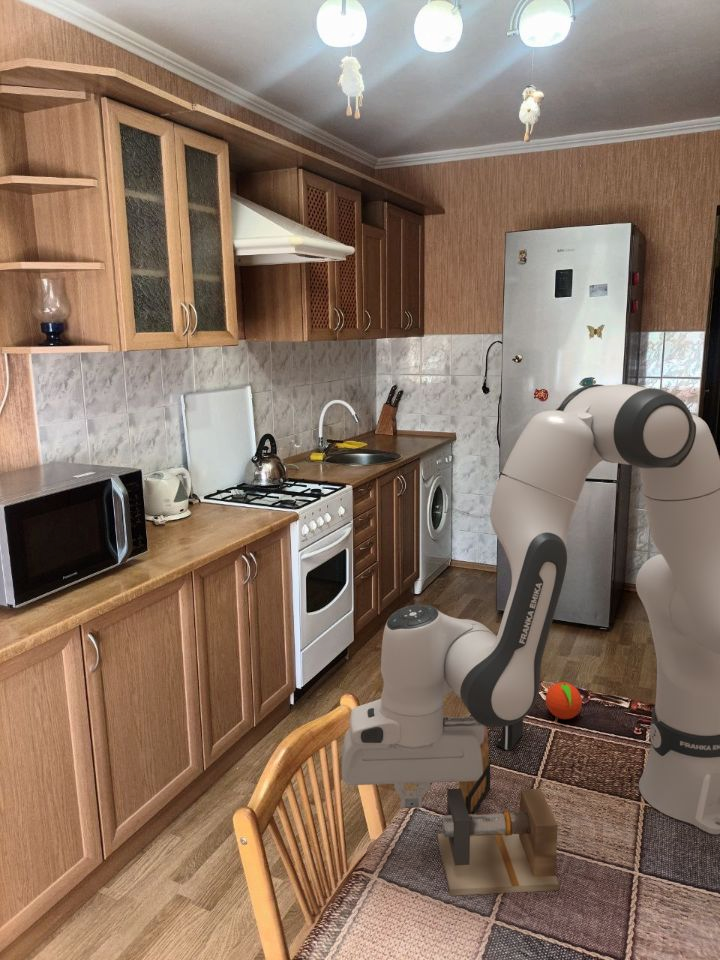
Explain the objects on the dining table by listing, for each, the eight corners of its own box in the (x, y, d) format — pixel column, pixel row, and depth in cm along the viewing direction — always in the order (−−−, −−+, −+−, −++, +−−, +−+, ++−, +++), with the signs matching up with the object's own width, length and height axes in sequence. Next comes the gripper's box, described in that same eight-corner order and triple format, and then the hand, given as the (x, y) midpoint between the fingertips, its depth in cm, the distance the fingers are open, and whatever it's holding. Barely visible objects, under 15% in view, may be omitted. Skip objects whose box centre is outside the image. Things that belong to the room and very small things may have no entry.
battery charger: (504, 729, 138) (506, 674, 136) (523, 734, 136) (525, 679, 134) (490, 746, 133) (492, 689, 130) (510, 752, 131) (512, 695, 128)
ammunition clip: (466, 827, 111) (467, 757, 109) (455, 823, 112) (456, 754, 110) (490, 789, 121) (491, 724, 118) (479, 785, 121) (481, 721, 119)
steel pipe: (534, 824, 104) (535, 805, 104) (540, 839, 101) (541, 819, 101) (442, 828, 104) (442, 809, 103) (445, 843, 101) (445, 824, 100)
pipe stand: (535, 834, 109) (537, 782, 108) (558, 890, 99) (561, 832, 97) (437, 839, 109) (438, 786, 107) (450, 895, 98) (450, 837, 96)
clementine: (587, 728, 138) (589, 694, 136) (551, 729, 138) (553, 695, 136) (574, 707, 146) (576, 674, 144) (540, 708, 146) (542, 675, 144)
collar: (460, 830, 106) (460, 788, 105) (469, 864, 100) (470, 820, 98) (446, 830, 106) (447, 788, 105) (455, 865, 99) (455, 821, 98)
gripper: (480, 705, 105) (477, 789, 108) (340, 709, 104) (341, 794, 107) (489, 728, 99) (486, 817, 102) (341, 733, 98) (342, 822, 101)
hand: (411, 805), depth 105 cm, fingers closed
